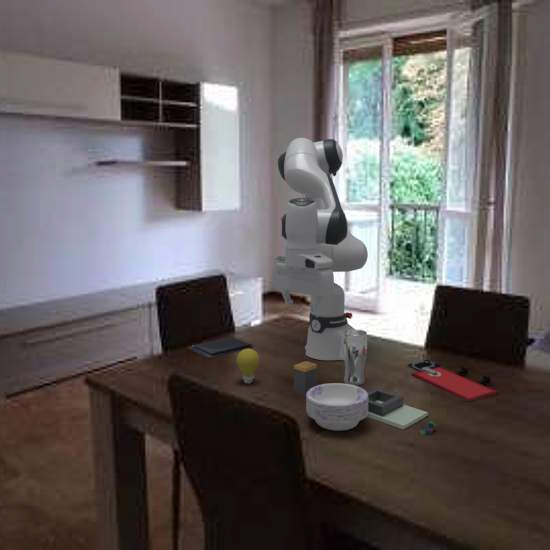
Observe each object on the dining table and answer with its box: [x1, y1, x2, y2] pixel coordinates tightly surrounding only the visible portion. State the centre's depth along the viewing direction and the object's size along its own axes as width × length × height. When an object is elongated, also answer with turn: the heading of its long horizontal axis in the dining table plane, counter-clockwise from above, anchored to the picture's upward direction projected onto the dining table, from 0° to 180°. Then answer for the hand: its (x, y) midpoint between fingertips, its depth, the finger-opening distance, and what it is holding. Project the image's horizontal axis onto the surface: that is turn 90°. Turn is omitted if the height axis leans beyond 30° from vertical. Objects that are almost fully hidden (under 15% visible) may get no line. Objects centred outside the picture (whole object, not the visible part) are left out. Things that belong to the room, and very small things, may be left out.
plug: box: [293, 360, 318, 397], centre depth 167 cm, size 5×4×8 cm
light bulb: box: [236, 348, 260, 384], centre depth 174 cm, size 7×7×10 cm
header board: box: [366, 387, 428, 431], centre depth 155 cm, size 11×22×4 cm, turn 45°
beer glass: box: [343, 328, 368, 386], centre depth 174 cm, size 7×7×15 cm
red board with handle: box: [407, 359, 499, 401], centre depth 177 cm, size 30×3×15 cm
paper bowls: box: [305, 382, 369, 432], centre depth 147 cm, size 15×15×8 cm
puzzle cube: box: [418, 421, 437, 436], centre depth 143 cm, size 4×3×2 cm, turn 141°
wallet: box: [186, 336, 255, 359], centre depth 208 cm, size 20×2×15 cm
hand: (301, 308), depth 164 cm, fingers open, 8 cm apart
